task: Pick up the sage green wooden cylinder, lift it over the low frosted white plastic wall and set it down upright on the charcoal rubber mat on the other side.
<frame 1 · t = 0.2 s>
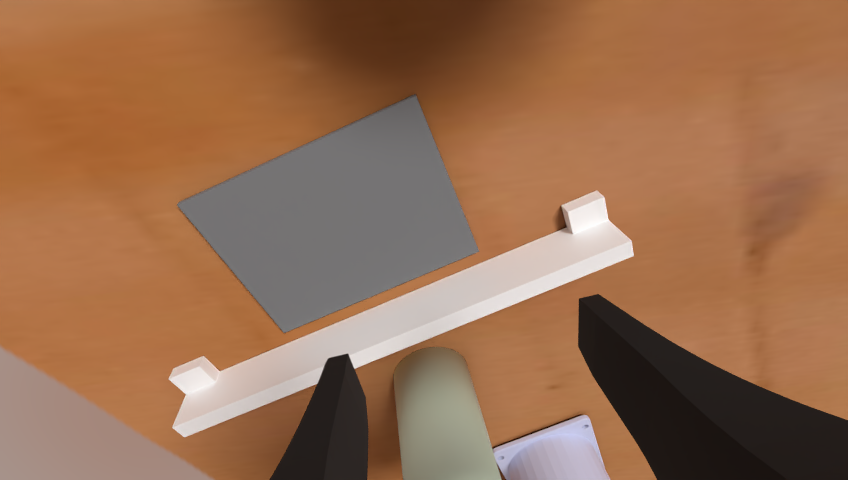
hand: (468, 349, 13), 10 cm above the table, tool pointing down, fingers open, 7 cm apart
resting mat: (341, 227, 21), on the table
low wall: (390, 307, 24), on the table
green cylinder: (430, 374, 28), on the table
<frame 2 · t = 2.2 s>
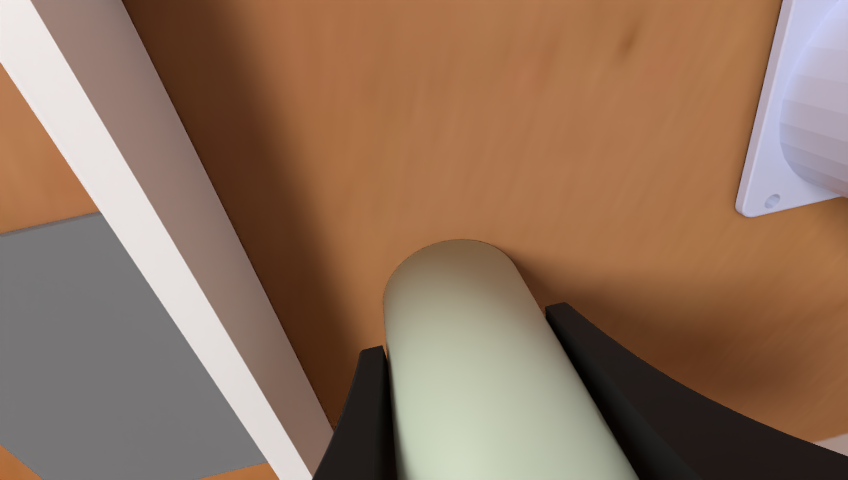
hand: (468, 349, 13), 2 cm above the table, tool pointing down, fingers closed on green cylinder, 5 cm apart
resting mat: (105, 382, 15), on the table
low wall: (274, 342, 15), on the table
green cylinder: (453, 299, 15), on the table, touching gripper
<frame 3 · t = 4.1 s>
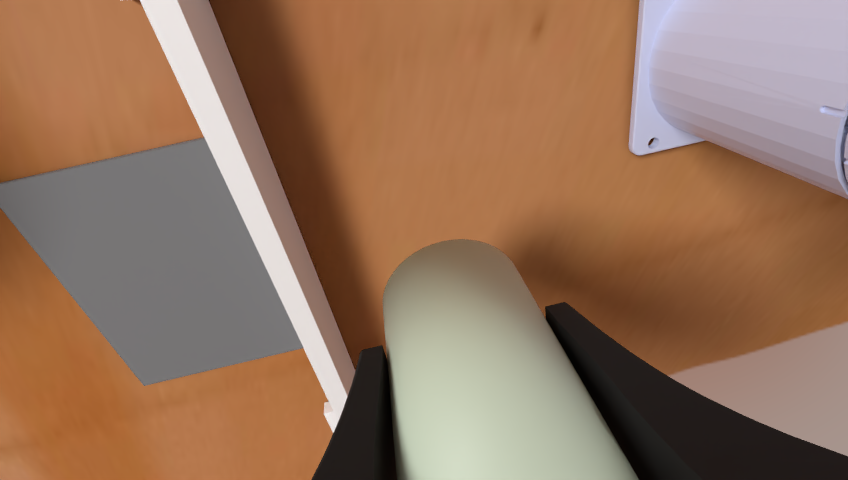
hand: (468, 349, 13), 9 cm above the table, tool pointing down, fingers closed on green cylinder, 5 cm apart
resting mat: (173, 277, 20), on the table
low wall: (295, 248, 20), on the table
green cylinder: (452, 299, 15), point 6 cm above the table, touching gripper
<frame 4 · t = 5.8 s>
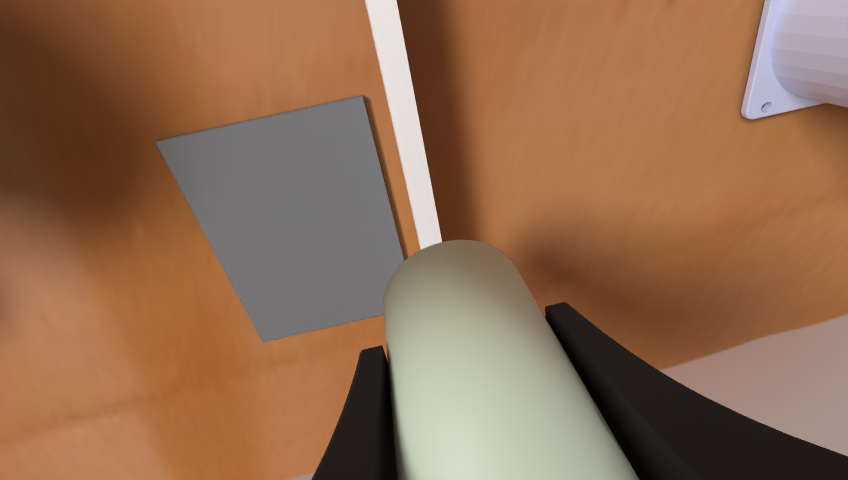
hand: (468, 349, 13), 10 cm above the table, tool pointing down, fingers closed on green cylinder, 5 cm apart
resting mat: (306, 234, 21), on the table
low wall: (421, 208, 21), on the table
green cylinder: (453, 300, 15), point 8 cm above the table, touching gripper
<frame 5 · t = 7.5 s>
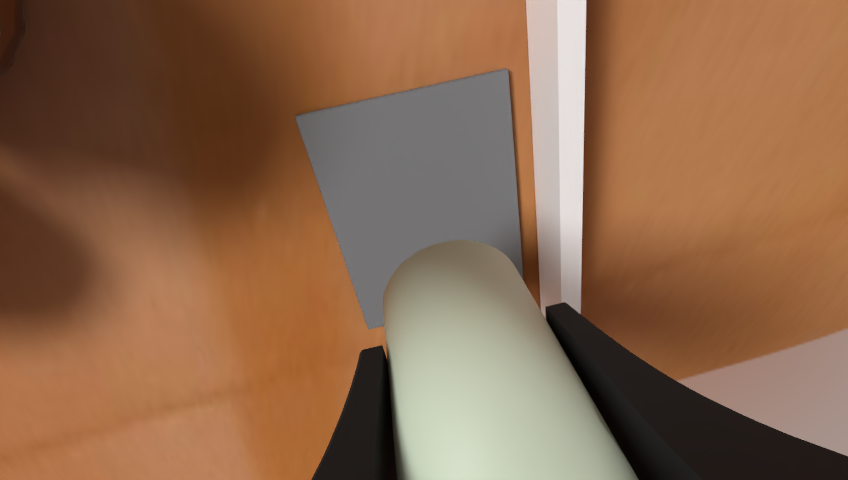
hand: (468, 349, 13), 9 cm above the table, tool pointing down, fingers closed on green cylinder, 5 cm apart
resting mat: (427, 215, 21), on the table
low wall: (544, 188, 21), on the table
green cylinder: (452, 300, 15), point 7 cm above the table, touching gripper
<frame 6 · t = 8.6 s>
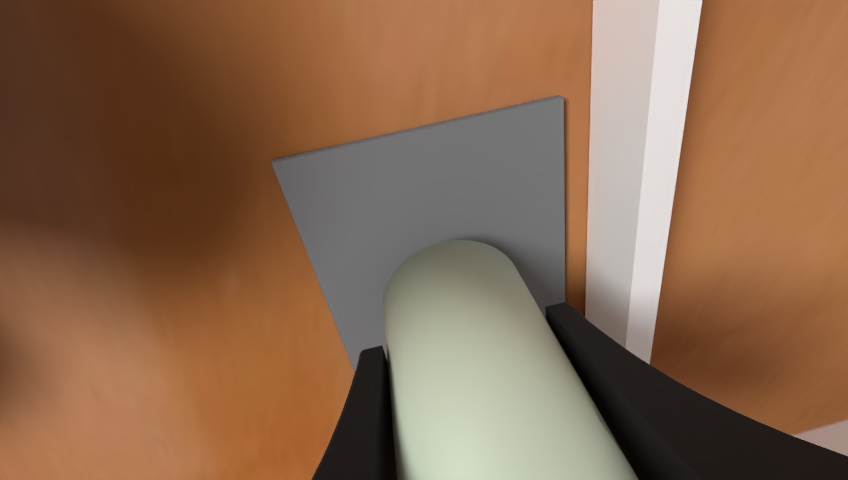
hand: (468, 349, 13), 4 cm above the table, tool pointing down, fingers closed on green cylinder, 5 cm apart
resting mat: (447, 281, 16), on the table
low wall: (599, 245, 16), on the table
green cylinder: (452, 300, 15), point 1 cm above the table, touching gripper
when the fingers open (3 cm above the table, at t = 9.2 s): green cylinder stays where it is, resting on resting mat.
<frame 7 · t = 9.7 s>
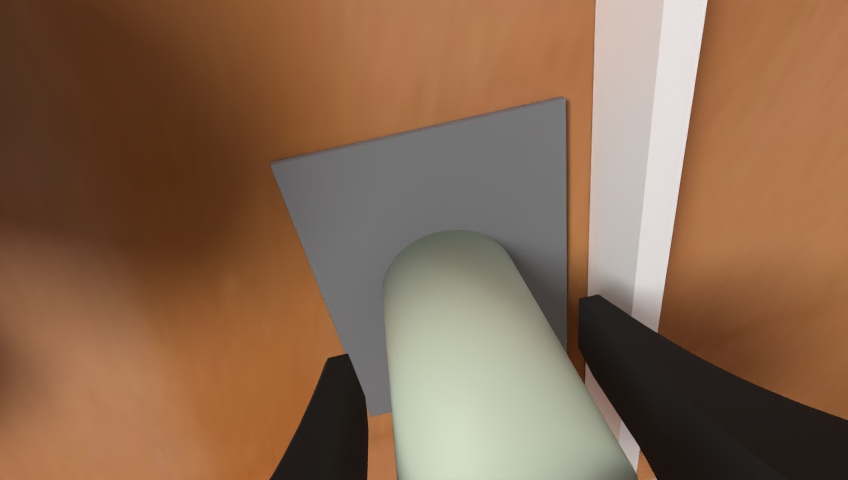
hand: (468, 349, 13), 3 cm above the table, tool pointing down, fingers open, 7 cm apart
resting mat: (447, 283, 16), on the table
low wall: (601, 247, 16), on the table
green cylinder: (449, 288, 16), resting on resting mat
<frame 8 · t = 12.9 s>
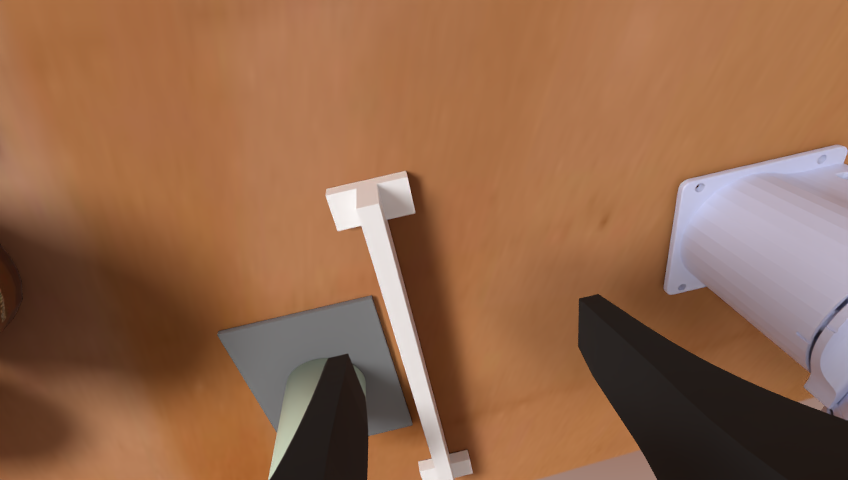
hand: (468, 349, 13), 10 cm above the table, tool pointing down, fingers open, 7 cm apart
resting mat: (326, 381, 27), on the table
low wall: (416, 360, 27), on the table
green cylinder: (326, 385, 27), resting on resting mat
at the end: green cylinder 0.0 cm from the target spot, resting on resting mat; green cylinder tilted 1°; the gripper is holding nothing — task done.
